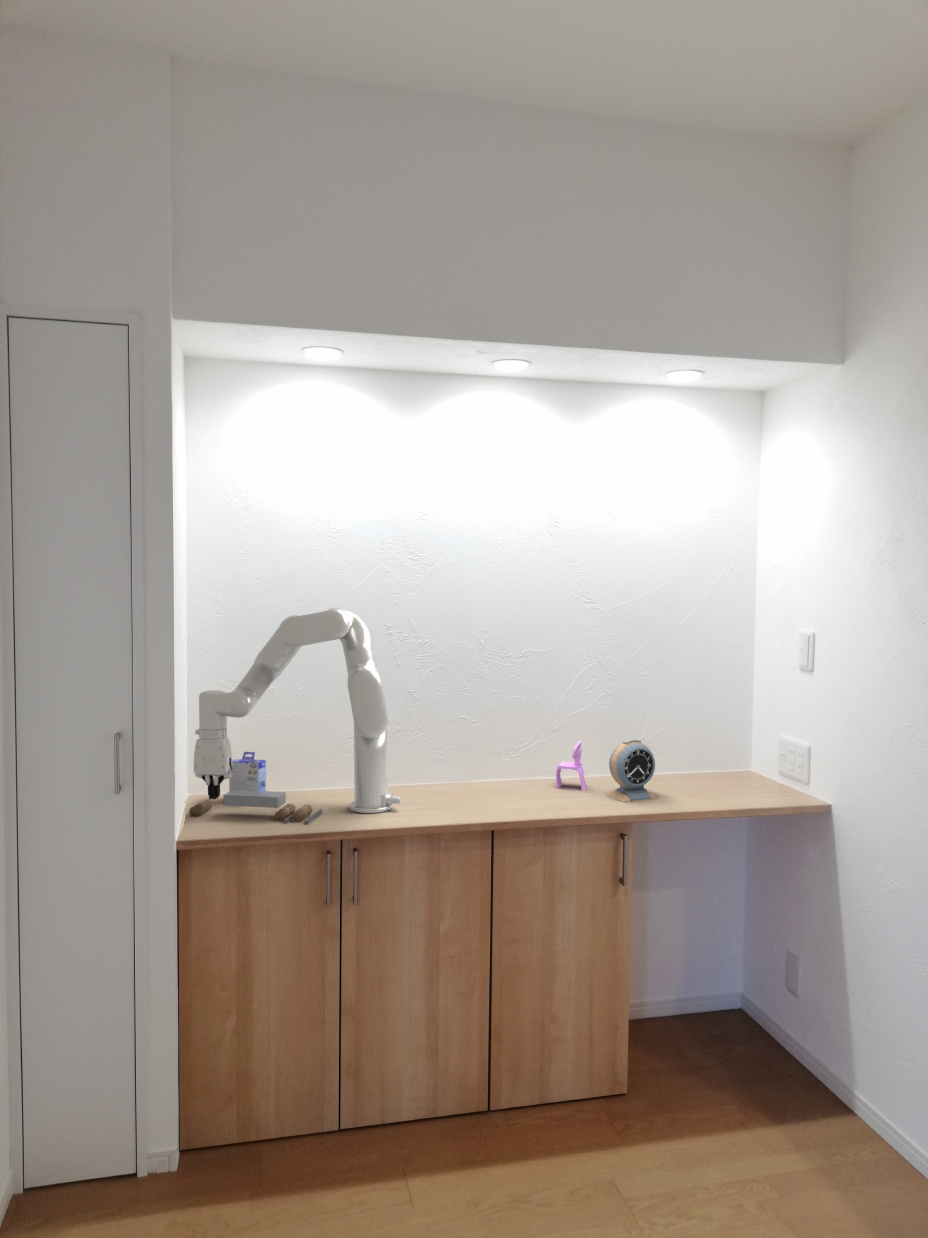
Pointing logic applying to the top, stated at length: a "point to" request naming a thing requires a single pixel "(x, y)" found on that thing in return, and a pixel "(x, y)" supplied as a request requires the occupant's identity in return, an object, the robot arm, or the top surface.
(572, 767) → the toy chair
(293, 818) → the roller
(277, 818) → the roller
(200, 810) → the roller
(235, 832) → the top surface
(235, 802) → the slab
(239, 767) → the ink cartridge box
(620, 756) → the alarm clock
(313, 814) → the bar
